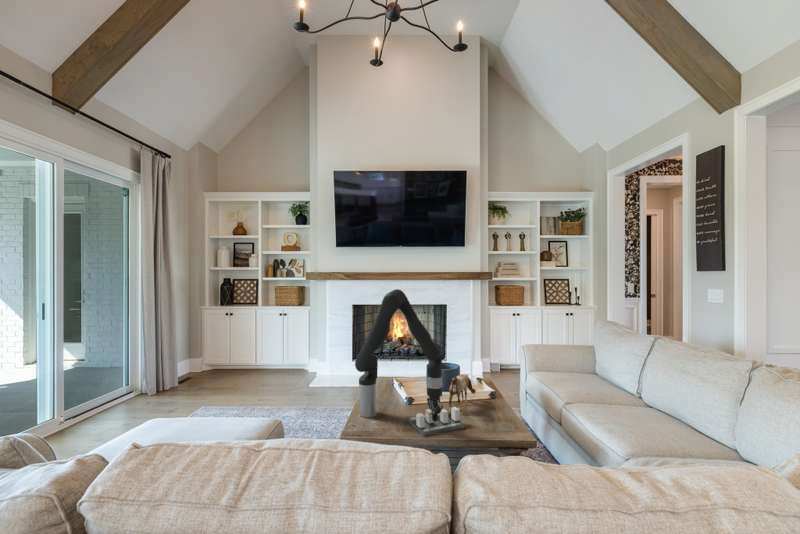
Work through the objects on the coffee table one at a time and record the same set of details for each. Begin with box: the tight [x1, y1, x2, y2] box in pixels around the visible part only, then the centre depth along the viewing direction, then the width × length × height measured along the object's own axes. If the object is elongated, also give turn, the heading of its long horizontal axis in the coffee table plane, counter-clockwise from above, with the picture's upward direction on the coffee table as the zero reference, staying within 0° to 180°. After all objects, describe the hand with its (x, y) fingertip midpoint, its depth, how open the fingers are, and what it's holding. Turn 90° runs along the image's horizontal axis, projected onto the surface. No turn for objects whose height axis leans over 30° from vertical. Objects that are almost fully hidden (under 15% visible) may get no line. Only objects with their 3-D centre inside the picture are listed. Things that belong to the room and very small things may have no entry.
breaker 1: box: [415, 412, 425, 428], centre depth 198 cm, size 4×2×6 cm, turn 22°
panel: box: [407, 412, 465, 437], centre depth 204 cm, size 18×23×2 cm
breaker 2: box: [425, 408, 434, 423], centre depth 203 cm, size 4×3×6 cm, turn 22°
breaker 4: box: [451, 406, 461, 421], centre depth 205 cm, size 4×2×6 cm, turn 22°
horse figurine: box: [448, 374, 477, 414], centre depth 227 cm, size 31×8×21 cm, turn 149°
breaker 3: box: [440, 408, 449, 423], centre depth 203 cm, size 4×2×6 cm, turn 22°
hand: (434, 420), depth 197 cm, fingers closed
